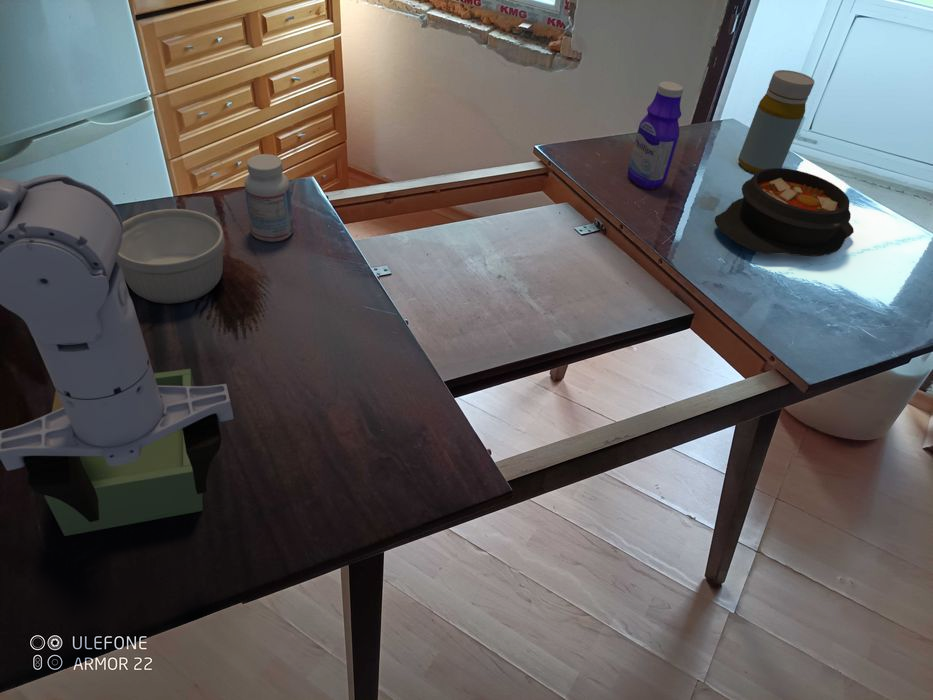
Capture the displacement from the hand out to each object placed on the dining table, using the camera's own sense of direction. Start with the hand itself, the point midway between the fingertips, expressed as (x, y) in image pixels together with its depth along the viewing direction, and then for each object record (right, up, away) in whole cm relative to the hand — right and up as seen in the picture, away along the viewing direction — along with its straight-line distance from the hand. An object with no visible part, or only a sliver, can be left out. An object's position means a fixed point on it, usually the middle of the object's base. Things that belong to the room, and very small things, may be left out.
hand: (148, 496), depth 53 cm
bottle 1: (+57, +42, +71) cm, 100 cm away
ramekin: (-13, +20, +37) cm, 44 cm away
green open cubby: (-7, 0, +14) cm, 16 cm away
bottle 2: (+82, +47, +81) cm, 124 cm away
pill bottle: (-4, +29, +48) cm, 56 cm away
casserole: (+77, +31, +61) cm, 103 cm away
